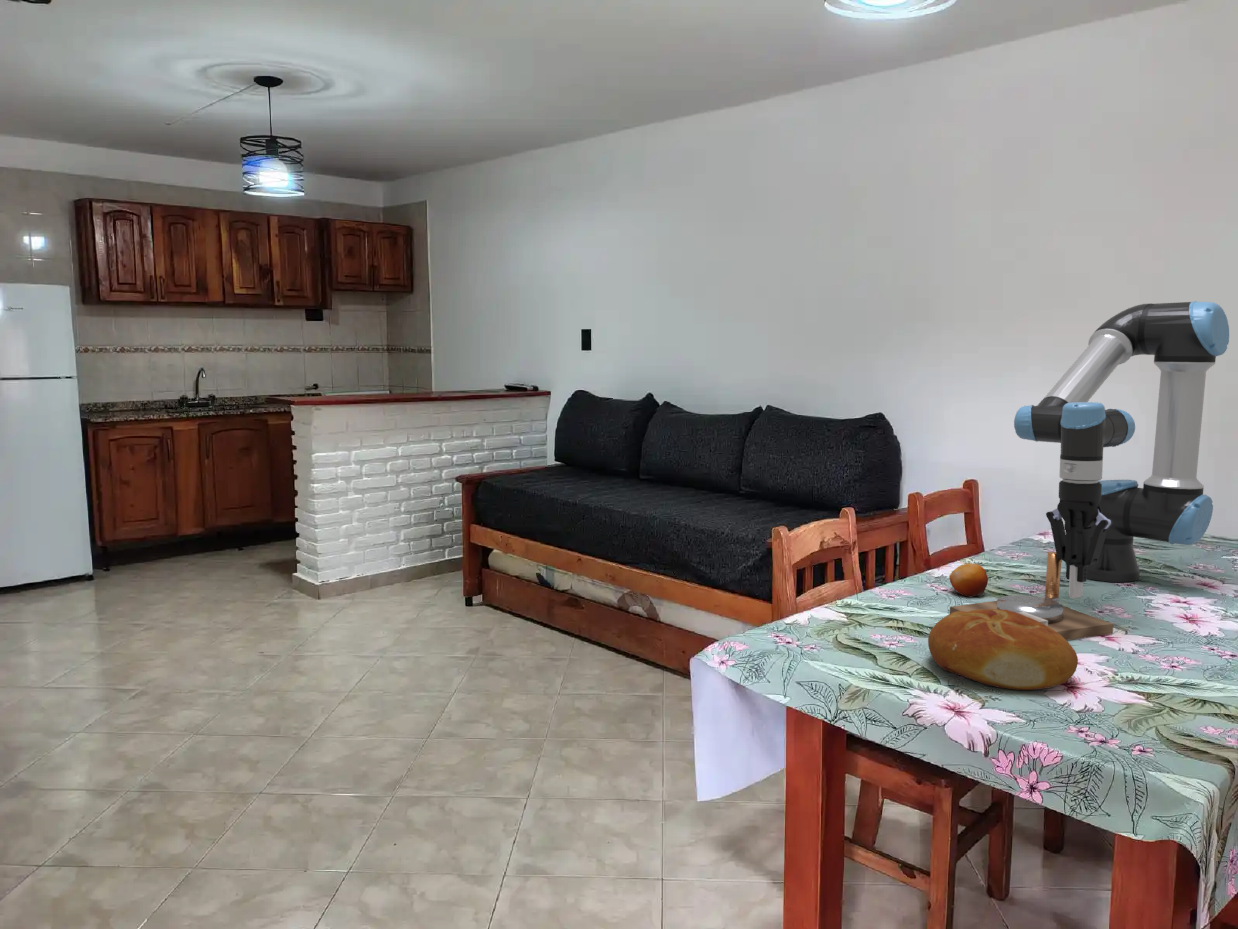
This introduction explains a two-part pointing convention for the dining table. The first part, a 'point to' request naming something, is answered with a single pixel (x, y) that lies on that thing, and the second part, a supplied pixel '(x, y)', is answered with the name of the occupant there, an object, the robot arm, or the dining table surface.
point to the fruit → (969, 579)
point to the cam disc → (1043, 605)
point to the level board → (1067, 627)
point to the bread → (1002, 649)
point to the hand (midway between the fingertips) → (1075, 596)
